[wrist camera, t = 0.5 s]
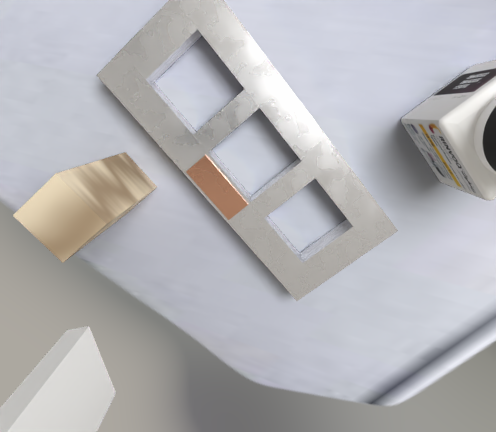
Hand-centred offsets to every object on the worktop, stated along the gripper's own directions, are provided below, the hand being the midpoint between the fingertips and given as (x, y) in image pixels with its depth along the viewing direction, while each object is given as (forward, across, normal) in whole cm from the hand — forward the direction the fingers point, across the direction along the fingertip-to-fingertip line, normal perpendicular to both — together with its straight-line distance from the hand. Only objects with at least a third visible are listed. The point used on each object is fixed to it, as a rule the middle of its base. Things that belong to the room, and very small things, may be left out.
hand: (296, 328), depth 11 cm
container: (+24, +18, +1) cm, 30 cm away
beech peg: (+24, -14, +2) cm, 28 cm away
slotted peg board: (+24, -1, +3) cm, 25 cm away
